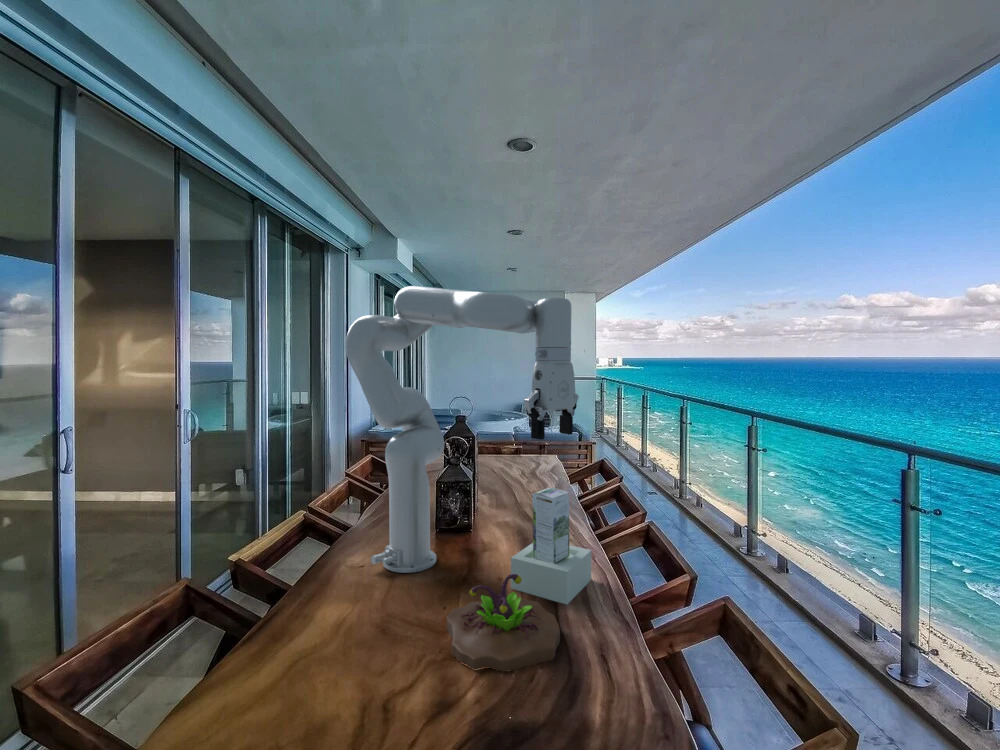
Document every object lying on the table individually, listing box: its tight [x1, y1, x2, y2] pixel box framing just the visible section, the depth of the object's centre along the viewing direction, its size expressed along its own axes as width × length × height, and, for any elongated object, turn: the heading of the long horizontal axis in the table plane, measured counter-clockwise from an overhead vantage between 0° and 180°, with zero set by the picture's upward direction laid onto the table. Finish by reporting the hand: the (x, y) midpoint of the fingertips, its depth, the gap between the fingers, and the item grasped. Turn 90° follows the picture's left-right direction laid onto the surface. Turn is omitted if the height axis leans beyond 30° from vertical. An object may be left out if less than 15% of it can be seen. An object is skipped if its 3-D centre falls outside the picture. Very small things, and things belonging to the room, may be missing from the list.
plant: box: [446, 574, 561, 672], centre depth 88 cm, size 20×20×11 cm
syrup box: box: [532, 487, 570, 564], centre depth 108 cm, size 6×6×14 cm
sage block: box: [510, 542, 592, 605], centre depth 108 cm, size 13×13×7 cm
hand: (552, 436), depth 107 cm, fingers open, 9 cm apart
